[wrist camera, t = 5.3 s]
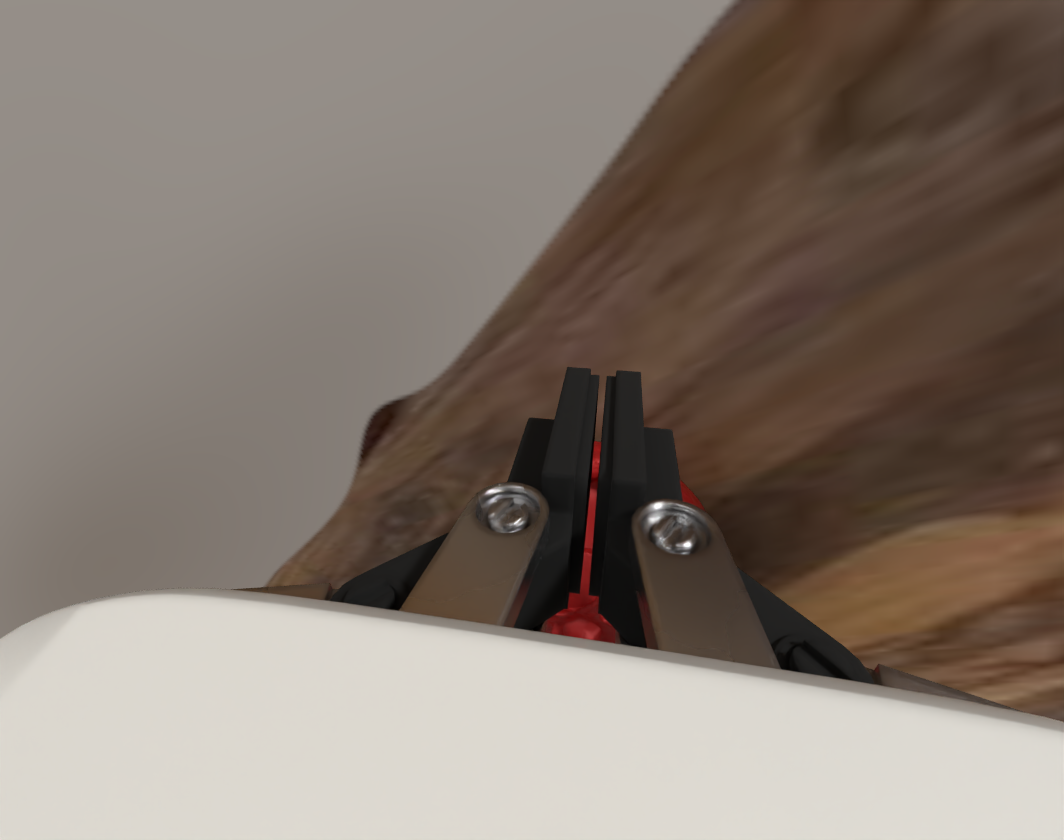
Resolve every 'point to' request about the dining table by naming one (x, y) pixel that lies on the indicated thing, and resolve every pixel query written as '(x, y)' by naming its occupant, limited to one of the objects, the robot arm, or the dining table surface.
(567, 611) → the pomegranate
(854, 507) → the dining table surface
